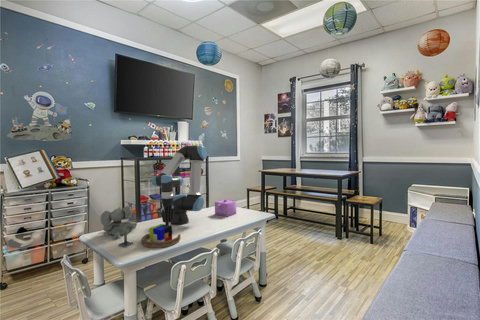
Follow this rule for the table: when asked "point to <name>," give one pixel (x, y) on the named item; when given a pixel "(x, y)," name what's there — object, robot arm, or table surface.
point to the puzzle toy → (160, 233)
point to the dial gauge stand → (126, 233)
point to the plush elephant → (116, 221)
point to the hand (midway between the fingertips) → (168, 231)
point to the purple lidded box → (225, 207)
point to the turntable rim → (158, 244)
